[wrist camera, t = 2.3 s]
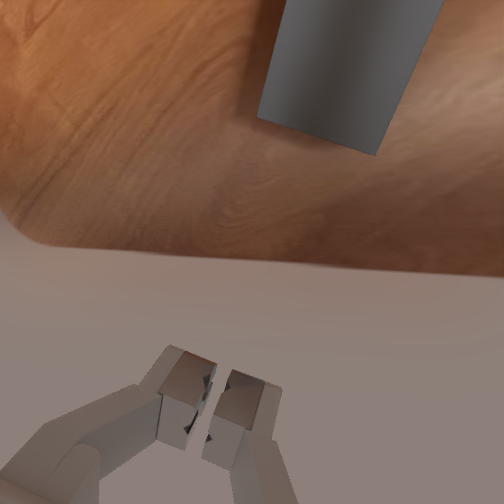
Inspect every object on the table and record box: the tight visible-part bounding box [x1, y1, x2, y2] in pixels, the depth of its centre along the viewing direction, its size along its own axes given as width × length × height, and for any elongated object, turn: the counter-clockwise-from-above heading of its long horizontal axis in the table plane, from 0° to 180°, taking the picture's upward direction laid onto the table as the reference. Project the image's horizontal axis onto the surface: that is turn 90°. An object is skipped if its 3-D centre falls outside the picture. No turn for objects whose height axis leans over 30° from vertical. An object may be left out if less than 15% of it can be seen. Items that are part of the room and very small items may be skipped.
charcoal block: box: [256, 0, 444, 156], centre depth 19 cm, size 7×10×6 cm
